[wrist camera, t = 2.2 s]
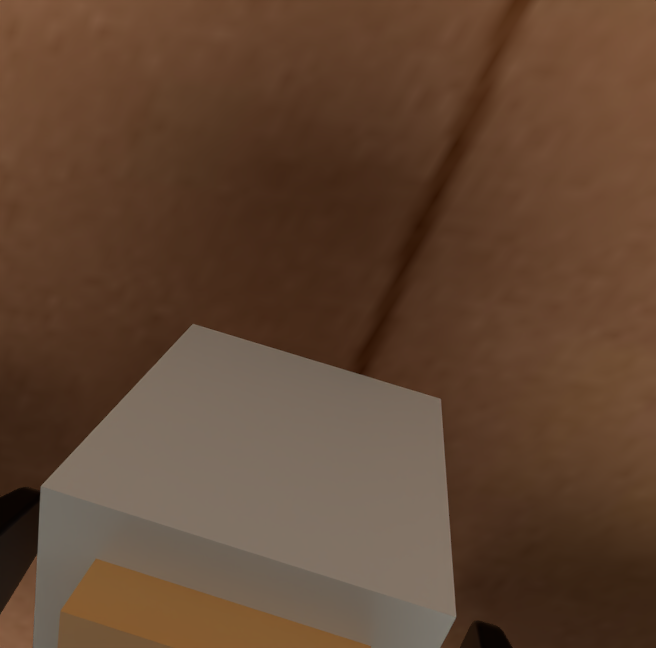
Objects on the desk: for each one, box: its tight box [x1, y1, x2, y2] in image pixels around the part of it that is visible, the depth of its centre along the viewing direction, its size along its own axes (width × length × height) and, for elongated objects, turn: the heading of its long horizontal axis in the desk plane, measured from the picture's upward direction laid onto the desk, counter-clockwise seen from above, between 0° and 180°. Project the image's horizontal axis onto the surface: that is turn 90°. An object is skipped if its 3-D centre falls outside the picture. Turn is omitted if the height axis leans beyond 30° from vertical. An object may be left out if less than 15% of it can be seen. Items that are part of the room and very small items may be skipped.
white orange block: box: [33, 324, 456, 648], centre depth 8 cm, size 4×7×5 cm, turn 165°
